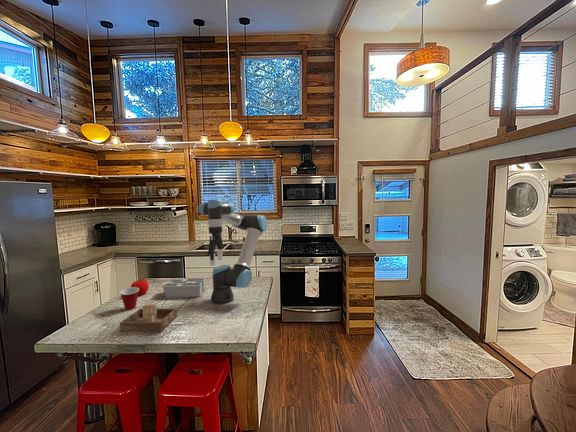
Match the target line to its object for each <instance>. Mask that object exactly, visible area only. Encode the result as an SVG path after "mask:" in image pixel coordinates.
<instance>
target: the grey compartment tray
mask: <svg viewBox="0 0 576 432" xmlns="http://www.w3.org/2000/svg"><path fill="white" fill-rule="evenodd" d="M206 279H207V278H205V277H203V278H201V277H200V278H180V279H179V278H177V279H176V278H175V279H171V280H166V281H165V282H163V283H162V287H163V289H162V291H163V295H164V297H165V298H169V299H171V298H174V299H176V298H177V299H178V297H180V298H199V297H201V296H202V293H203V292H204V291H206V284H207V283H206V282H207V281H206Z"/></svg>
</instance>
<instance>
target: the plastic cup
mask: <svg viewBox="0 0 576 432" xmlns="http://www.w3.org/2000/svg"><path fill="white" fill-rule="evenodd" d="M138 291H139V288H136V287H131V286H130V287H128V288H123V289H120V291H119V295H120V296H121V299H122V302H123V306H124V309H125V311H133V310H135V309H136V308H137V302H138V296H139V295H138Z"/></svg>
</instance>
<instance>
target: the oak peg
mask: <svg viewBox="0 0 576 432" xmlns="http://www.w3.org/2000/svg"><path fill="white" fill-rule="evenodd" d="M141 309H142V310H143V322H156V321H157V309H158V308H157V302H147V303H145V304H144V305H142V308H141Z"/></svg>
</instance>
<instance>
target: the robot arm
mask: <svg viewBox="0 0 576 432" xmlns="http://www.w3.org/2000/svg"><path fill="white" fill-rule="evenodd" d="M235 209H236V208H235V205H234V204H233V203H232V202H228V201H227V202H222V199H208V201H207V202H201V203H200V204H199V205H198V213H199V214H200V215H204V216H206V215H207V216H208V218H207V219H208V223H207V225H208V233H209V234H210V235H211V236H209V242H208V250H207V251H208V252H207V255H209V265H210V266H211V267H214V268H213V269H212V287H213V289H212V293H211V297H210V302H211V303H213V304H217V305H222V304H228V303H231V302H233V301H234V299H235V296H234V293H233V290H232V287H234V288H238V289H240V288H242V289H245V288H247V287H248V286H249V285H250V284H251V282H252V279H253V273H252V271H251V270H252V268H251V264H252V260H253V256H254V253H255V250H256V246H257V244H258V241H259V237H260V236H262V235H263V232H266V231H268V230H267V229H268V220H267V217H266V216H264V215H263V214H261V215H260V214H258V215H256V214H255V215H254V214H238V213H235ZM223 222H225V223H228V224H230V225H231V226H232V227H234V228H236V229H238V230H242V231H246V232H247V233H246V236H245V239H244V242H243V245H242V247H241V251H240V254H239V256H238V260H237V262H236V263H234V264H233V266H232V267H233V268H231V266H230V265H229V264H222V265H219V266H216V253H215V251H216V247H217V261H223V250H224V243H223V242H224V241H223V238H222V233H223V226H222V225H223Z"/></svg>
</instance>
